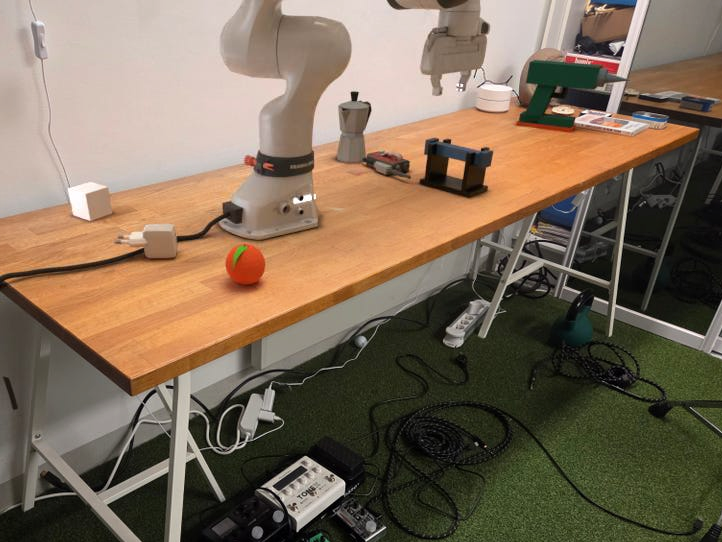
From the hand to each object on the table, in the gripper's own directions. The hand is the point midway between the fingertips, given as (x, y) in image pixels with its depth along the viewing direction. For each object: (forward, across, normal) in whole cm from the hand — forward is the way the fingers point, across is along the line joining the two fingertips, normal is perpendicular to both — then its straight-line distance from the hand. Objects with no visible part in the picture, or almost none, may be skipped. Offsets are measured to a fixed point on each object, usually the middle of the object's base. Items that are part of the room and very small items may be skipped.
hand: (448, 93), depth 142 cm
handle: (+15, +3, -3) cm, 16 cm away
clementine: (+23, -70, -10) cm, 75 cm away
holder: (+22, +3, -3) cm, 22 cm away
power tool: (+20, +85, +8) cm, 87 cm away
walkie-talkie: (+22, +2, +16) cm, 27 cm away
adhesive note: (+23, -74, +40) cm, 87 cm away
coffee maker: (+22, +4, +32) cm, 39 cm away
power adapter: (+23, -76, +12) cm, 81 cm away
